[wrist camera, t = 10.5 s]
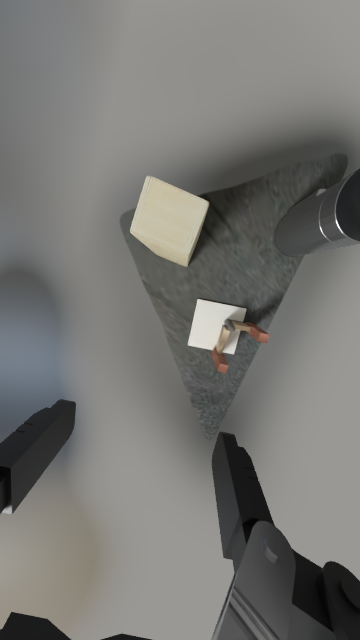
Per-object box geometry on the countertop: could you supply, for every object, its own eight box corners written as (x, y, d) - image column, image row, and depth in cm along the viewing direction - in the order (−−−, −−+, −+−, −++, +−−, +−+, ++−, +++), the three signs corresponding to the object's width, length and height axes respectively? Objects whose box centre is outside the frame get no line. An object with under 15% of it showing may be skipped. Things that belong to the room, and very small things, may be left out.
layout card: (197, 298, 44) (197, 299, 44) (246, 308, 44) (246, 308, 44) (187, 344, 47) (187, 345, 46) (233, 353, 47) (233, 354, 47)
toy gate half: (221, 325, 45) (229, 336, 36) (228, 327, 45) (238, 339, 36) (211, 353, 46) (217, 371, 38) (218, 355, 46) (225, 373, 38)
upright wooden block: (200, 236, 41) (213, 195, 21) (188, 267, 43) (188, 258, 22) (167, 222, 41) (147, 166, 20) (156, 254, 42) (126, 232, 22)
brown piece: (224, 317, 45) (234, 327, 35) (252, 322, 45) (269, 334, 35) (223, 324, 45) (232, 336, 36) (250, 329, 45) (266, 343, 36)
